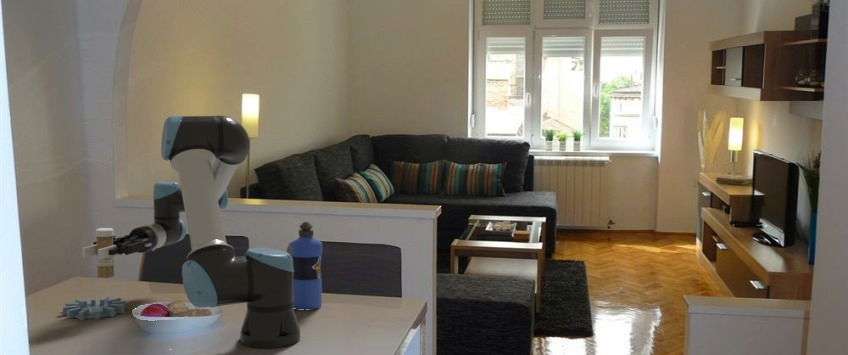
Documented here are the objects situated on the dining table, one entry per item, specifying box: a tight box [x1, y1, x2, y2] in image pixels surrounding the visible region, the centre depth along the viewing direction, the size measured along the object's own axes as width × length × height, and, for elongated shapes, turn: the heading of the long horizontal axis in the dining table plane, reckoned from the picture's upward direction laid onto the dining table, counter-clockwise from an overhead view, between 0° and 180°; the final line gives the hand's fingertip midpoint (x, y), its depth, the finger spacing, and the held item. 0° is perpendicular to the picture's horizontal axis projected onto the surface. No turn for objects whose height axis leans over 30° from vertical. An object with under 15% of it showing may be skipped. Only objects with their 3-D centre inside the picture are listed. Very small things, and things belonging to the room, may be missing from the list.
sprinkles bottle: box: [95, 227, 115, 279], centre depth 221 cm, size 5×5×14 cm
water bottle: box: [289, 221, 323, 310], centre depth 235 cm, size 9×9×25 cm
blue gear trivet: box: [62, 296, 127, 321], centre depth 227 cm, size 16×16×2 cm
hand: (91, 253), depth 216 cm, fingers closed on sprinkles bottle, 4 cm apart
